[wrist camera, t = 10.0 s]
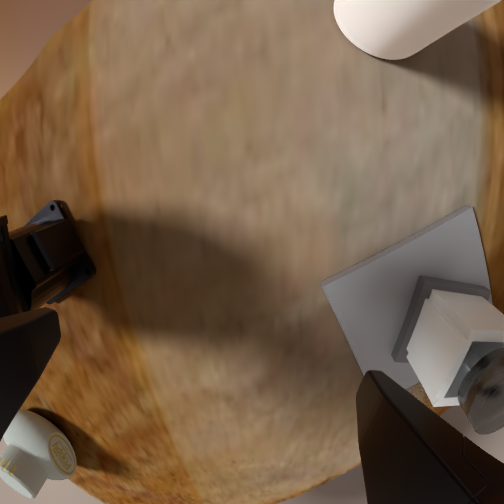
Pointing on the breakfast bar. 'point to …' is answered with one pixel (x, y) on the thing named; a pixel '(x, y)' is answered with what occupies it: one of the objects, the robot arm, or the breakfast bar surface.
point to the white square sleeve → (447, 334)
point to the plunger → (483, 390)
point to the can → (402, 23)
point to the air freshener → (35, 454)
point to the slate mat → (402, 288)
